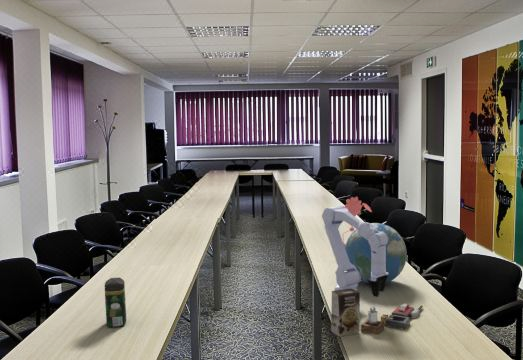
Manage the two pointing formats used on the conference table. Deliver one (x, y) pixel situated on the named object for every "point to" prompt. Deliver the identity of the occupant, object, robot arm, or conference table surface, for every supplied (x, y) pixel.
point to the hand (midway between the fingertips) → (378, 293)
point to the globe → (361, 253)
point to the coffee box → (345, 312)
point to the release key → (384, 317)
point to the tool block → (397, 322)
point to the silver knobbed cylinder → (372, 317)
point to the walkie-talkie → (406, 311)
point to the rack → (372, 327)
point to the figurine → (354, 209)
